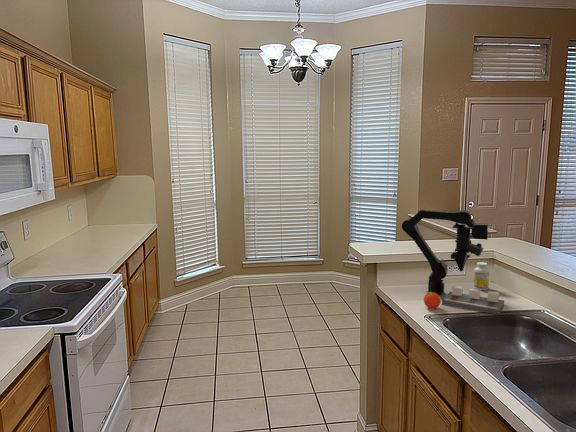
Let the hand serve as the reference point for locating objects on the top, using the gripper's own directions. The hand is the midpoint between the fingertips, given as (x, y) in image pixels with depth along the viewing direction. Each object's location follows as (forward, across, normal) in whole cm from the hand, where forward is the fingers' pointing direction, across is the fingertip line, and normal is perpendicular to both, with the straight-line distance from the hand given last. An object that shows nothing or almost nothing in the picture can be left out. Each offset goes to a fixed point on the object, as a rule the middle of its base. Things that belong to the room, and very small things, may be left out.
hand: (461, 270), depth 201 cm
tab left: (+10, -6, 0) cm, 12 cm away
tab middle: (+10, -6, -8) cm, 14 cm away
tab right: (+10, -6, -15) cm, 19 cm away
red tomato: (+12, -24, +7) cm, 27 cm away
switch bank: (+12, -10, -8) cm, 17 cm away
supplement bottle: (+12, +16, -6) cm, 21 cm away
